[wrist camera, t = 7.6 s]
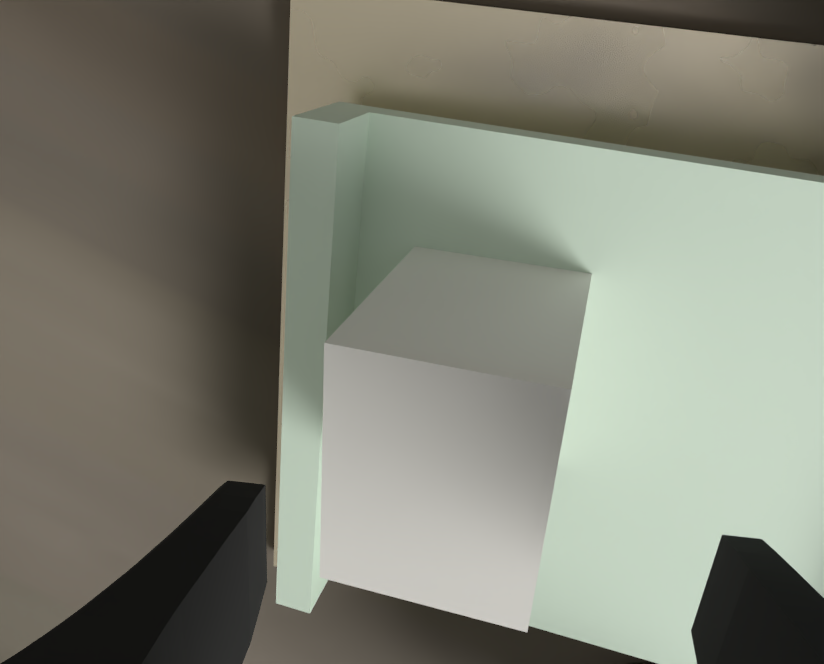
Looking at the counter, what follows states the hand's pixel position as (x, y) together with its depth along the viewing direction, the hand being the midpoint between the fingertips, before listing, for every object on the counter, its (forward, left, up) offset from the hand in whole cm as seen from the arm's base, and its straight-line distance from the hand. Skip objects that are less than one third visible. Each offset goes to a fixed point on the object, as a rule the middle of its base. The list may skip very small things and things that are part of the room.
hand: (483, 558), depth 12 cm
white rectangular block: (0, 0, -6) cm, 7 cm away
